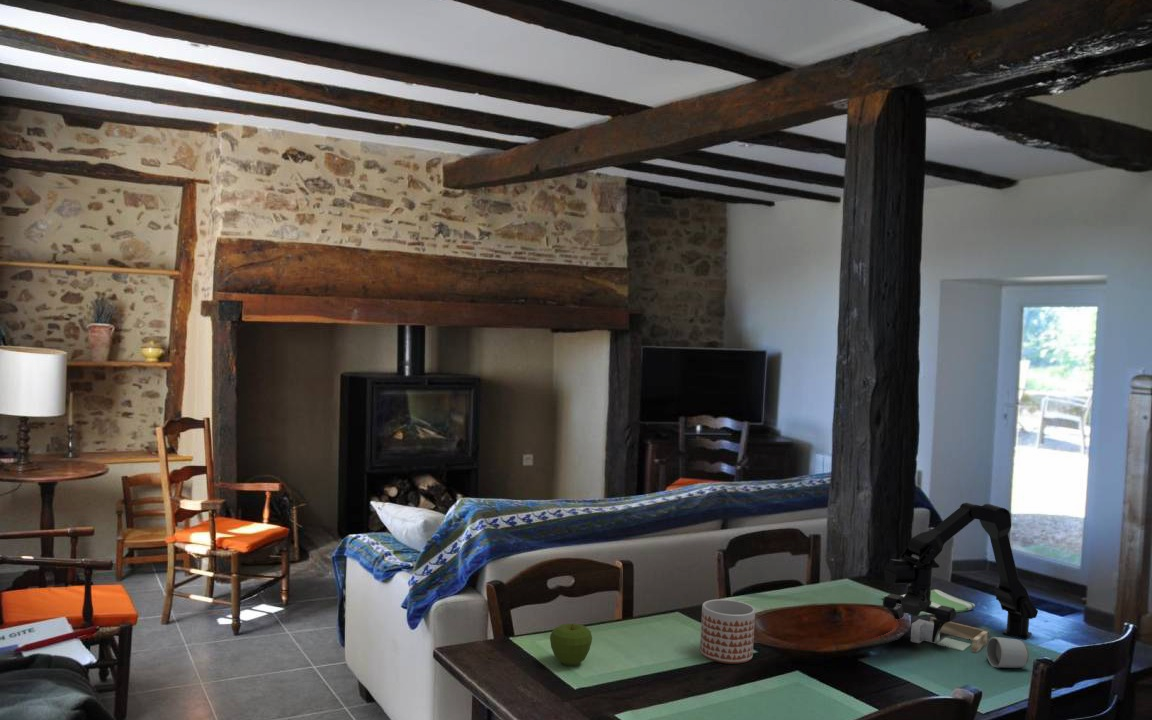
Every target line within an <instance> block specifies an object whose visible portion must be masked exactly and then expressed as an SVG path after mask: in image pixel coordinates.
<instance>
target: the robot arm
mask: <svg viewBox="0 0 1152 720" xmlns="http://www.w3.org/2000/svg"><path fill="white" fill-rule="evenodd" d="M975 520H979V523H980V525H981V527H982V529H983V530H984V531H985V532H986V534H987V535H988V536H989V539H990V543H991V548H992V551H993V556H994V559H995V564H996V569H997V573H998V577H999V583H998V585H997V586H995V587H993V588H994V589H993V590H994V592H995V599H996V600H997V601H998V602H999V604H1000V607H1001V610H1002V611H1005V612H1007V619H1006V620H1007V621H1006V629H1004V631H1002V634H1003V635H1007V636H1011V637H1014V638H1018V639H1023V640H1028V638H1030V637H1031V636H1032V635H1033V633H1032V632H1030V631H1029V625H1030V620H1033V619H1036V618H1037V615H1038V613H1039V612H1038V609H1037V608H1036V606H1035V605H1034V604H1033V603H1032V602H1031V596H1030V595H1029V592H1028V589H1027V588H1026V587H1025V585H1024V584H1023V583H1022V582H1021V581H1020V579H1019V576H1018V570H1017V567H1016V563H1015V560H1014V559H1015V558H1014V555H1013V550H1012V547H1011V546H1012V545H1011V542H1010V537H1009V534H1010V533H1009V532H1010V531H1011V528H1012V517H1011V513H1010V511H1009V510H1008V509H1007V508H1005V507H1001V506H998V505H994V504H990V503H985V504H983V505H980V504H979V505H978V504H973V503H969V502H963V503H961V504H960V506H959V508H957V509H956V510H955V511H954V512H952V513H951V514H949V515H948V516H947V517H946V518H945V519H943V520H942V521H941V522H940V523H939V524H937V525H936V526H935V527H934V528H932V529H930V530H927V531H924V532H920V533H919V534H917V535H915V536H913V537H912V538H911V539H910V540H909V541H908V544H907V546H906V547H905V549H904V550H903V552H902V553H900V556H899V559H895V558H890V559H889V562H888V563H887V564H886V565H885V567H884V570H883V576H884V579H885V581H886V582H887V584H889V585H908V586H907V591H906V593H905V594H906V595H905V596H904V597H903V596H901V595H900V594H894V593H890V594H887V595H888V596H886V597H883V598H882V607H884V608H886V609H887V611H889V612H890V613H892V615H893V616H894V620H895V619H900V618H902V617H903V616H904V617H905V615H904V614H908V615H912V616H916V617H918V616H917V615H919V614H920V612H926V613H930V614H935V615H934V618H936V619H934V620H933V621H934V629H933V635H932V642H935V640H936V638H937V636H938V634H939V632H940V630H941V628H942V626H943V625H944V624H945V623H947V622H953V621H954V620H955V619H956V618H957V613H956V611H955V609H954V608H951V607H947V606H943V605H941V606H940V607H938V608H935V607H931V606H930V605H931V600H930V597H931V590H933V586H932V583H933V582H932V579H933V568H934V569H936V568H937V569H939V568H940V564H939V563H937V562H936V561H935V560H936V558H937V557H938V556H939V555H940V553H942V552H943V551H942V550H944V549H943V548H944V546H945V544H946V543H947V542H948V541H949V540H951V539H952V538H953V537H954V536H956V535H957V534H958V533H959V532H961V531H962V530H963V529H965V528H966V527H967V526H968V525H969V524H970V523H972V522H973V521H975ZM940 633H941V632H940ZM932 642H931V643H932Z"/></svg>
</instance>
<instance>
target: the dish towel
mask: <svg viewBox="0 0 1152 720" xmlns="http://www.w3.org/2000/svg"><path fill="white" fill-rule="evenodd" d="M888 595H889V594H881V597H883V598H884V597H886V596H888ZM905 595H906V593H905V594H901V595H900V596H903V597H904V596H905ZM930 600H931V605H930V606H931V607H935V608H938V607H940V606H941V605H943V606H947V607H951V608H954V609H955V611H956V614H957V613H963V612H967V611H971V610H973V609H974V608H975V607H976V605H975V603H973V602H969V601H967V600H964V599H961V598H959V597H956V596H954V595H951V594H949V593H946V592H943V591H942V590H940V589H932V590H931V597H930ZM930 615H931V616H932V615H934V616H935V614H930V613H926V612H920V614H919V615H917V616H916V617H920V616H930Z"/></svg>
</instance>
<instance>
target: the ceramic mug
mask: <svg viewBox="0 0 1152 720" xmlns="http://www.w3.org/2000/svg"><path fill="white" fill-rule="evenodd" d="M985 650H986V652H985V653H986V658H987V660H988V663H989V664H990V665H991V666H992V667H993V668H997V669H999V668H1003V669H1007V668H1008V669H1009V668H1010V669H1019V668H1024V667H1026V666H1027V664H1028V662H1029V660H1030V659H1029V658H1030V656H1029V655H1030V654H1029V648H1028V646H1027V645H1026V643H1025V642H1024V641H1022V640H1020V639H1016V638H1007V637H999V636H998V637H997V636H991V637H989V639H988V643H987V644H986V649H985Z"/></svg>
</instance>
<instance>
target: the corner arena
mask: <svg viewBox="0 0 1152 720" xmlns="http://www.w3.org/2000/svg"><path fill="white" fill-rule="evenodd" d="M934 619H936V617H935V616H931V617H930V616H929V622H933V623H934V621H933V620H934ZM940 634H944V635H948V636H949V635H950V636H952V637H953V636H954V637H957V638H961V639H966V640H969V639H970V640H969V641H971V651H970V652H971V653H975V654H977V653H978V652H979V651H980V650H981V648H982V647H983V646H984V647H985V646H987V643H988V641H989V639H990V637H989V636H990V635H989V634H990V631H989V630H987V629H984V628H983V629H982V628H978V627H974V626H970V625H966V624H964V623H963V624H962V623H958V622H953V621H951V622H947V623H945V624H944V625H943V626H942V628H941V630H940ZM984 647H983V648H984ZM983 648H982V649H983Z"/></svg>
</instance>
